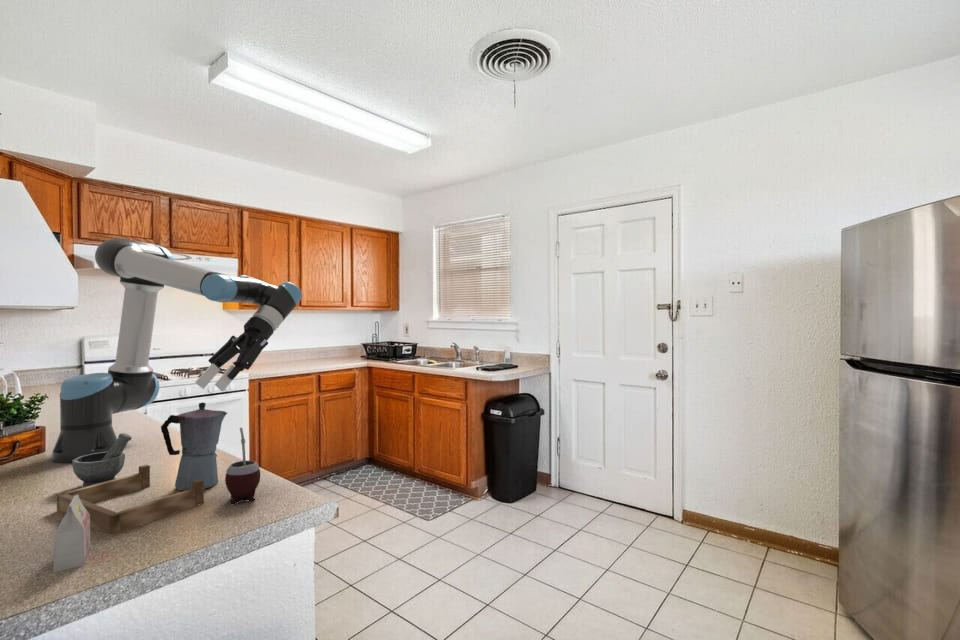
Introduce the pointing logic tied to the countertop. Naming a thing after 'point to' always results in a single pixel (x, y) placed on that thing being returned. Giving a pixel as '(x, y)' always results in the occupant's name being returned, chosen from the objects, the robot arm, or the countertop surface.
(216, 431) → the moka pot
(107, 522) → the bay
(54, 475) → the countertop surface
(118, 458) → the mortar and pestle
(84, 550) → the white paper packet
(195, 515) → the countertop surface
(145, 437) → the countertop surface
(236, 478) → the mate gourd
